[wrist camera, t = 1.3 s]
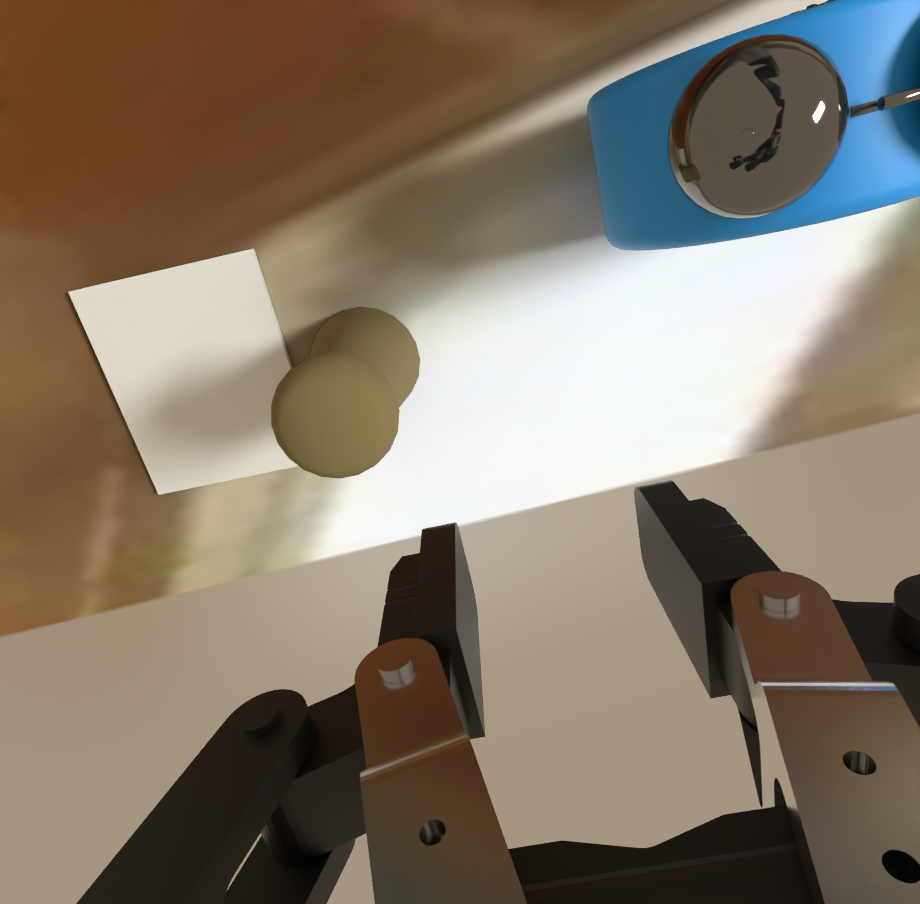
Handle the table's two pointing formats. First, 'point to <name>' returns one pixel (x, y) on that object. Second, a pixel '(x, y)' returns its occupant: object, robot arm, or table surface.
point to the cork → (346, 394)
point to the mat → (192, 367)
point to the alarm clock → (764, 128)
